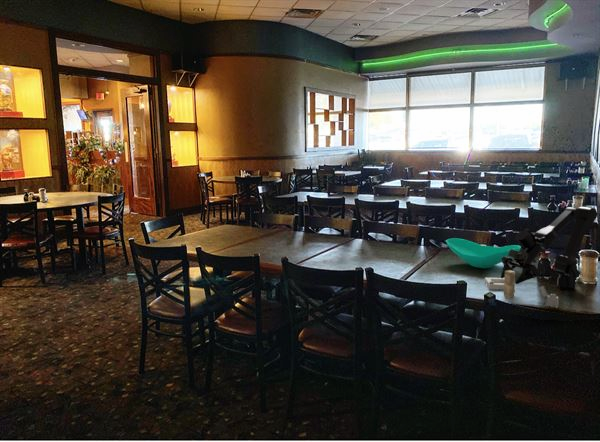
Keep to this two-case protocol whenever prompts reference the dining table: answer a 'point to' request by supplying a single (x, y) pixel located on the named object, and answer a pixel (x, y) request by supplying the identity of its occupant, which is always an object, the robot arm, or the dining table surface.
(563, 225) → the robot arm
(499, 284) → the housing
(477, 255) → the table top decor
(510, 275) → the wooden cylinder
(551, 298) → the grey notched flat piece
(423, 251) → the dining table surface
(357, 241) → the dining table surface
